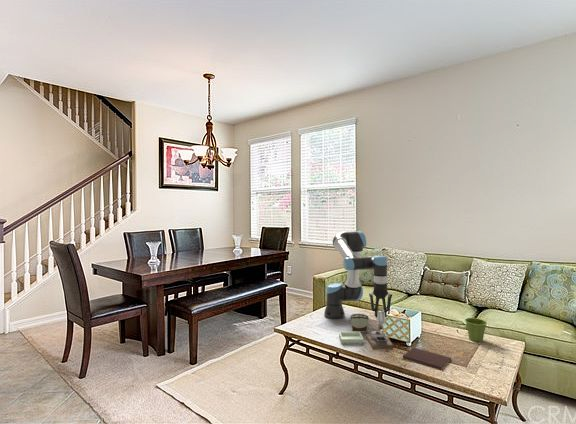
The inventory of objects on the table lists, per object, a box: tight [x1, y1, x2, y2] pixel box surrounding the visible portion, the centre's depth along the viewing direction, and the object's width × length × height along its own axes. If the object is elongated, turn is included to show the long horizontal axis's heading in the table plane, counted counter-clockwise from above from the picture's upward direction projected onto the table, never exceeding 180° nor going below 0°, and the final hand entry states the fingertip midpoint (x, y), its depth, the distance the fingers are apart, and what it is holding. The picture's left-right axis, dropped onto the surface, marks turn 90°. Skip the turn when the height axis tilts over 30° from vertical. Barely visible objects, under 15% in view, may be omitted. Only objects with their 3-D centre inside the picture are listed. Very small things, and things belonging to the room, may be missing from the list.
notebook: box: [402, 347, 452, 371], centre depth 176 cm, size 15×20×2 cm
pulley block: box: [365, 330, 394, 350], centre depth 197 cm, size 16×12×5 cm
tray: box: [338, 331, 365, 345], centre depth 202 cm, size 12×13×3 cm
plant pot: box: [464, 317, 488, 343], centre depth 199 cm, size 12×12×11 cm
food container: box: [349, 313, 370, 333], centre depth 218 cm, size 12×6×10 cm, turn 84°
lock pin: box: [377, 310, 384, 331], centre depth 192 cm, size 3×3×10 cm
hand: (380, 322), depth 192 cm, fingers closed on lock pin, 3 cm apart
